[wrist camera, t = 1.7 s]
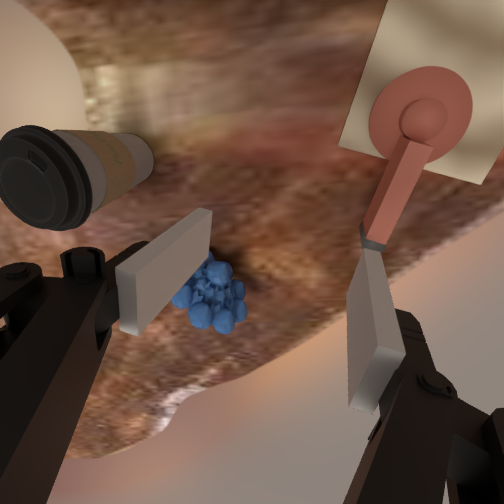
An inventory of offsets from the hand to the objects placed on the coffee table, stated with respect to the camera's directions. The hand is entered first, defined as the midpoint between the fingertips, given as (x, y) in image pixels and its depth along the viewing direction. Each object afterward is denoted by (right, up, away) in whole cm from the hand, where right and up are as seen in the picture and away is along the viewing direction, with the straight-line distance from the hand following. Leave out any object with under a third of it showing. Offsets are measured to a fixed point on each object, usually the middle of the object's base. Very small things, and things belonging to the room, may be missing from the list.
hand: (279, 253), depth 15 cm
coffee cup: (-17, +12, +24) cm, 31 cm away
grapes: (-5, -1, +27) cm, 27 cm away
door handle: (+11, +8, +11) cm, 17 cm away
